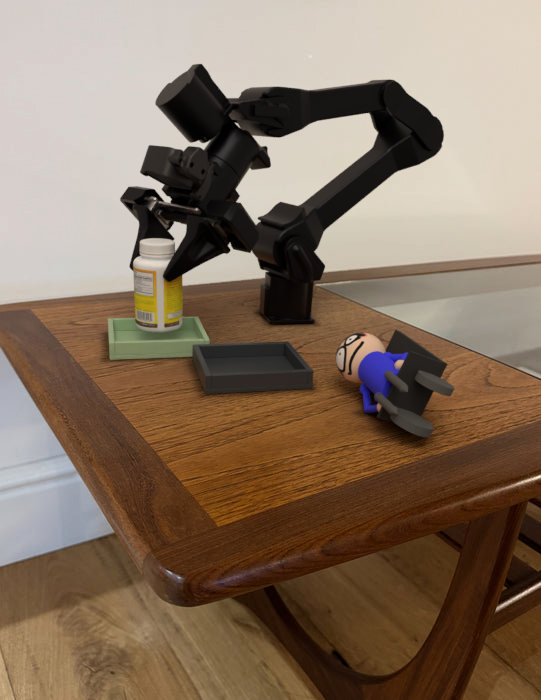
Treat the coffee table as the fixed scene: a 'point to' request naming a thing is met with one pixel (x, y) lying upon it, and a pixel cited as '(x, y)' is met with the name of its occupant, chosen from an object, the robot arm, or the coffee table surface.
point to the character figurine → (394, 377)
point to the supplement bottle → (156, 288)
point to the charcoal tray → (250, 367)
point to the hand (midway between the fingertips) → (148, 274)
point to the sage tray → (153, 340)
